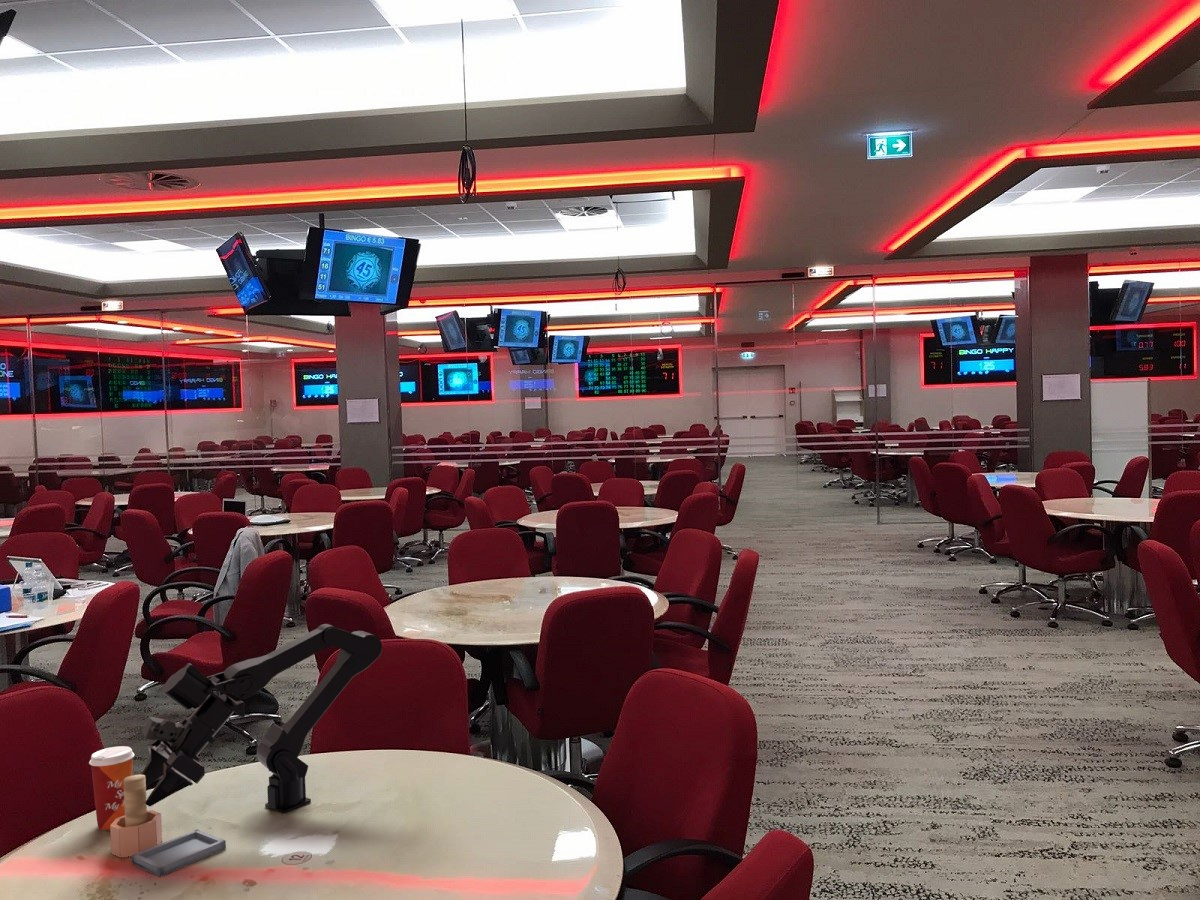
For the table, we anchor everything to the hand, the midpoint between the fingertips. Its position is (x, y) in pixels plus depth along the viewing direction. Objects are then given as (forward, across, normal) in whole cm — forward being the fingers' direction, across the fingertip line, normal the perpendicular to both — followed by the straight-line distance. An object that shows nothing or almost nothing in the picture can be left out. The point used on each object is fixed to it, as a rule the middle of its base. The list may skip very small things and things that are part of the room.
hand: (141, 797), depth 159 cm
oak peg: (+7, 0, +6) cm, 9 cm away
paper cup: (+8, -14, +5) cm, 17 cm away
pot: (+7, 0, +6) cm, 9 cm away
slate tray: (+3, +10, +9) cm, 13 cm away
